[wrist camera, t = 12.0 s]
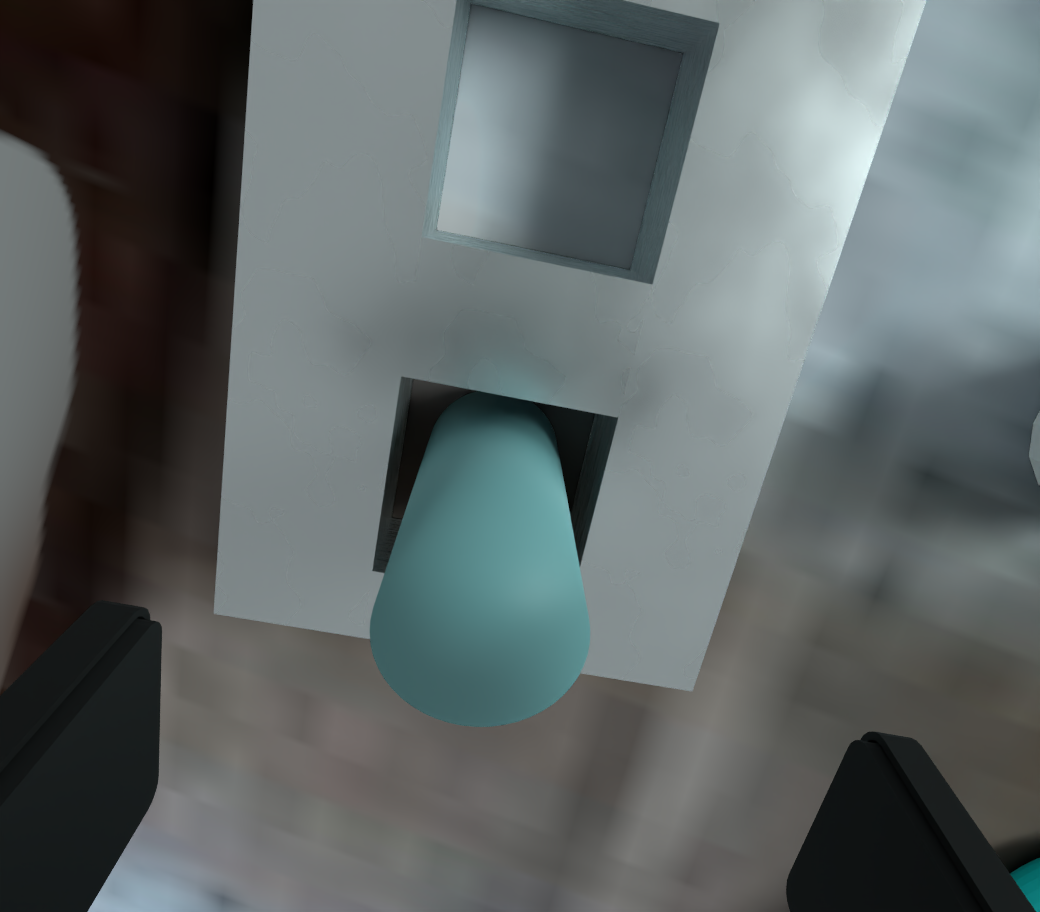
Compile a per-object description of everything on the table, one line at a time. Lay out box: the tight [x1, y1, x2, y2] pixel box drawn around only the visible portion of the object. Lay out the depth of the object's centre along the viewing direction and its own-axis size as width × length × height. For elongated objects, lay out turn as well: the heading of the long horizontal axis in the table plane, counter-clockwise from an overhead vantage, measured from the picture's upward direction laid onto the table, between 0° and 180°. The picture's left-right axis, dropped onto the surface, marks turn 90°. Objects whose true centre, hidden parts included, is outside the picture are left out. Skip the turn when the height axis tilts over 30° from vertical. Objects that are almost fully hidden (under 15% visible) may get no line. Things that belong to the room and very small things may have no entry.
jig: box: [214, 0, 926, 691], centre depth 19 cm, size 19×14×4 cm
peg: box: [370, 391, 590, 727], centre depth 18 cm, size 4×4×10 cm
